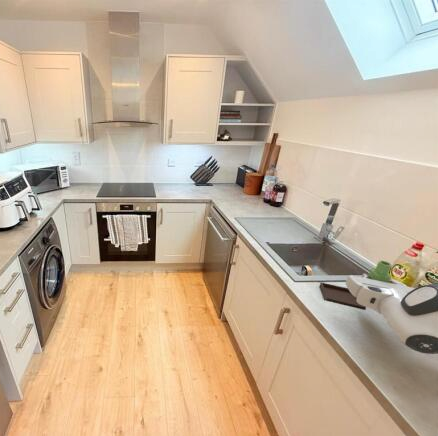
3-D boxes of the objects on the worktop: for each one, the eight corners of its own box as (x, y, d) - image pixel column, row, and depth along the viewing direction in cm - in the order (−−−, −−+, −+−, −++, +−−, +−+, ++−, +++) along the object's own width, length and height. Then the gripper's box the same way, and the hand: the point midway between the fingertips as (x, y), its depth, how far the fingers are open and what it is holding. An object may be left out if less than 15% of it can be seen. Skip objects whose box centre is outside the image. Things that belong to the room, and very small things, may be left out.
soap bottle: (372, 299, 88) (391, 261, 82) (378, 308, 84) (399, 269, 77) (355, 295, 90) (372, 257, 84) (360, 304, 86) (379, 265, 79)
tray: (354, 294, 102) (356, 290, 101) (364, 312, 93) (366, 307, 92) (319, 286, 107) (320, 282, 106) (325, 302, 97) (326, 298, 96)
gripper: (447, 305, 67) (419, 277, 79) (358, 286, 75) (344, 263, 86) (436, 322, 70) (410, 292, 81) (351, 302, 77) (339, 277, 89)
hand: (376, 277), depth 84 cm, fingers closed on soap bottle, 5 cm apart
